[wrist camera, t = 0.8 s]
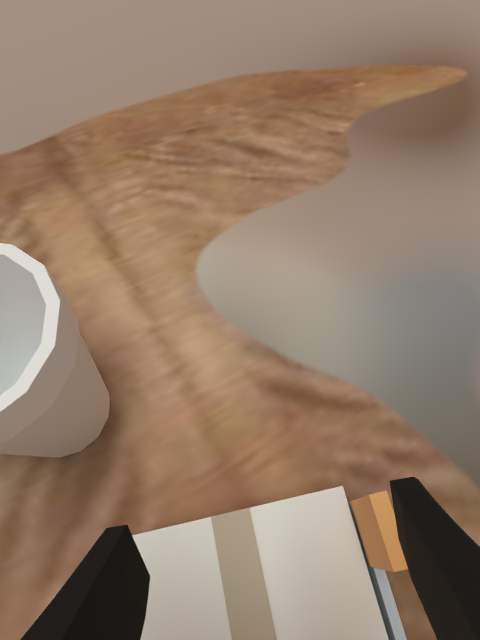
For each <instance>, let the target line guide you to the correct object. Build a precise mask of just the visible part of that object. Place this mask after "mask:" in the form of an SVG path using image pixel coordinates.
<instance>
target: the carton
mask: <svg viewBox="0 0 480 640" xmlns="http://www.w3.org/2000/svg"><path fill="white" fill-rule="evenodd" d="M132 536H133V539H134V541H135V543H136V545H137V548H138V550H139V552H140V554H141V557H142V559H143V561H144V563H145V565H146V568H147V570H148V572H149V574H150V584H149V594H148V602H147V609H146V617H145V622H144V626H143V631H142V635H141V639H140V640H389V639H388V635H387V632H386V629H385V625H384V622H383V619H382V615H381V612H380V609H379V605H378V602H377V599H376V595H375V592H374V589H373V585H372V582H371V579H370V575H369V572H368V569H367V565H366V562H365V559H364V555H363V552H362V549H361V545H360V542H359V539H358V535H357V532H356V529H355V525H354V522H353V519H352V515H351V512H350V509H349V505H348V502H347V499H346V495H345V492H344V489H343V486H340V487H335V488H331V489H327V490H323V491H319V492H314V493H310V494H306V495H302V496H297V497H293V498H289V499H285V500H280V501H276V502H272V503H268V504H263V505H259V506H255V507H251V508H246V509H241V510H237V511H233V512H229V513H224V514H220V515H216V516H212V517H208V518H204V519H200V520H196V521H192V522H187V523H183V524H179V525H175V526H170V527H166V528H162V529H158V530H153V531H149V532H145V533H141V534H136V535H132Z"/></svg>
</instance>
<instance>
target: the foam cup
mask: <svg viewBox="0 0 480 640" xmlns="http://www.w3.org/2000/svg"><path fill="white" fill-rule="evenodd" d="M109 408H110V395H109V392H108V390H107V388H106V386H105V384H104V382H103V379H102V377H101V375H100V373H99V371H98V369H97V367H96V365H95V363H94V361H93V359H92V357H91V355H90V353H89V351H88V349H87V347H86V345H85V343H84V340H83V338H82V336H81V334H80V332H79V323H78V321H77V319H76V316H75V314H74V312H73V310H72V308H71V306H70V303H69V301H68V299H67V297H66V295H65V293H64V291H63V289H62V288H61V287H60V286H59V284H58V283H57V282H56V280H55V279H54V278H53V276H52V275H51V274H50V273H49V271H48V270H47V269H46V267H45V266H44V265H42V264H41V263H39V262H38V261H36V260H35V259H33V258H32V257H30V256H29V255H27V254H26V253H24V252H23V251H21V250H20V249H18V248H16V247H15V246H13V245H11V244H2V243H0V454H8V455H23V456H38V457H54V458H56V457H59V458H60V457H64V456H67V455H70V454H73V453H76V452H80V451H82V450H83V449H84V448H85V447H87V446H88V445H89V444H90V443H91V442H93V441H94V440H95V439H96V438H97V437H98V436H99V435H100V433H101V431H102V429H103V427H104V425H105V423H106V421H107V420H108V418H109Z"/></svg>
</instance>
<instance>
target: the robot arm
mask: <svg viewBox="0 0 480 640" xmlns="http://www.w3.org/2000/svg"><path fill="white" fill-rule="evenodd" d="M390 486H391V493H392V499H393V506H394V512H395V519H396V526H397V532H398V539H399V542H400V545H401V548H402V551H403V554H404V557H405V561H406V564H407V567H408V570H409V573H410V576H411V579H412V582H413V584H414V586H415V589H416V591H417V593H418V596H419V598H420V600H421V603H422V605H423V607H424V610H425V612H426V614H427V617H428V619H429V621H430V623H431V626H432V628H433V630H434V633H435V635H436V637H437V640H480V547H479V546H478V545H477V544H476V543H475V542H474V541H473V540H472V539H471V538H470V537H469V536H468V535H467V534H466V533H465V532H464V531H463V530H462V529H461V528H460V527H459V526H458V525H457V524H456V523H455V522H454V520H453V519H452V518H451V517H450V516H449V515H448V514H447V513H446V512H445V511H444V510H443V508H442V507H441V506H440V505H439V504H438V503H437V502H436V501H435V499H434V498H433V497H432V496H431V495H430V494H429V492H428V491H427V490H426V489H425V487H424V486H423V485H422V484H421V482H420V481H419V480H418V479H417V478H415V477H410V478H404V479H398V480H392V481H390ZM149 584H150V574H149V572H148V570H147V568H146V565H145V563H144V561H143V559H142V557H141V554H140V552H139V550H138V548H137V545H136V543H135V541H134V539H133V536H132V534H131V532H130V530H129V528H128V525H122V526H116V527H110V528H106V530H105V531H104V532H103V534H102V535H101V536H100V537H99V539H98V540H97V541H96V543H95V544H94V545H93V547H92V548H91V550H90V551H89V552H88V554H87V555H86V556H85V558H84V559H83V560H82V562H81V563H80V564H79V566H78V567H77V569H76V570H75V571H74V573H73V574H72V575H71V577H70V578H69V579H68V580H67V582H66V583H65V584H64V586H63V587H62V588H61V590H60V591H59V592H58V594H57V595H56V596H55V598H54V599H53V600H52V602H51V603H50V604H49V605H48V607H47V608H46V609H45V610H44V611H43V613H42V614H41V615H40V616H39V618H38V619H37V620H36V621H35V622H34V624H33V625H32V626H31V627H30V629H29V630H28V631H27V632H26V634H25V635H24V636H23V637H22V638H21V640H140V639H141V635H142V631H143V626H144V622H145V617H146V609H147V602H148V594H149Z"/></svg>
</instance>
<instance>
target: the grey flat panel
mask: <svg viewBox="0 0 480 640" xmlns="http://www.w3.org/2000/svg"><path fill="white" fill-rule="evenodd" d="M348 505H349V509H350V512H351V515H352V519H353V522H354V525H355V529H356V532H357V535H358V539H359V542H360V545H361V549H362V552H363V555H364V559H365V562H366V565H367V569H368V572H369V575H370V579H371V582H372V585H373V589H374V592H375V595H376V599H377V602H378V605H379V609H380V612H381V615H382V619H383V622H384V625H385V629H386V632H387V635H388V639H389V640H407V639H406V635H405V632H404V629H403V626H402V623H401V620H400V616H399V613H398V610H397V607H396V604H395V601H394V597H393V594H392V591H391V588H390V585H389V581H388V578H387V575H386V572H385V570H386V571H390V572H398V571H402V570H406V569H408V567H407V564H406V561H405V557H404V554H403V551H402V548H401V545H400V542H399V539H398V532H397V526H396V519H395V514H394V511H393V509H392V506H391V503H390V500H389V497H388V494H387V491H383V492H378V493H374V494H370V495H367V496H364V497H361V498H358V499H355V500H352V501H350V502H348Z"/></svg>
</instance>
